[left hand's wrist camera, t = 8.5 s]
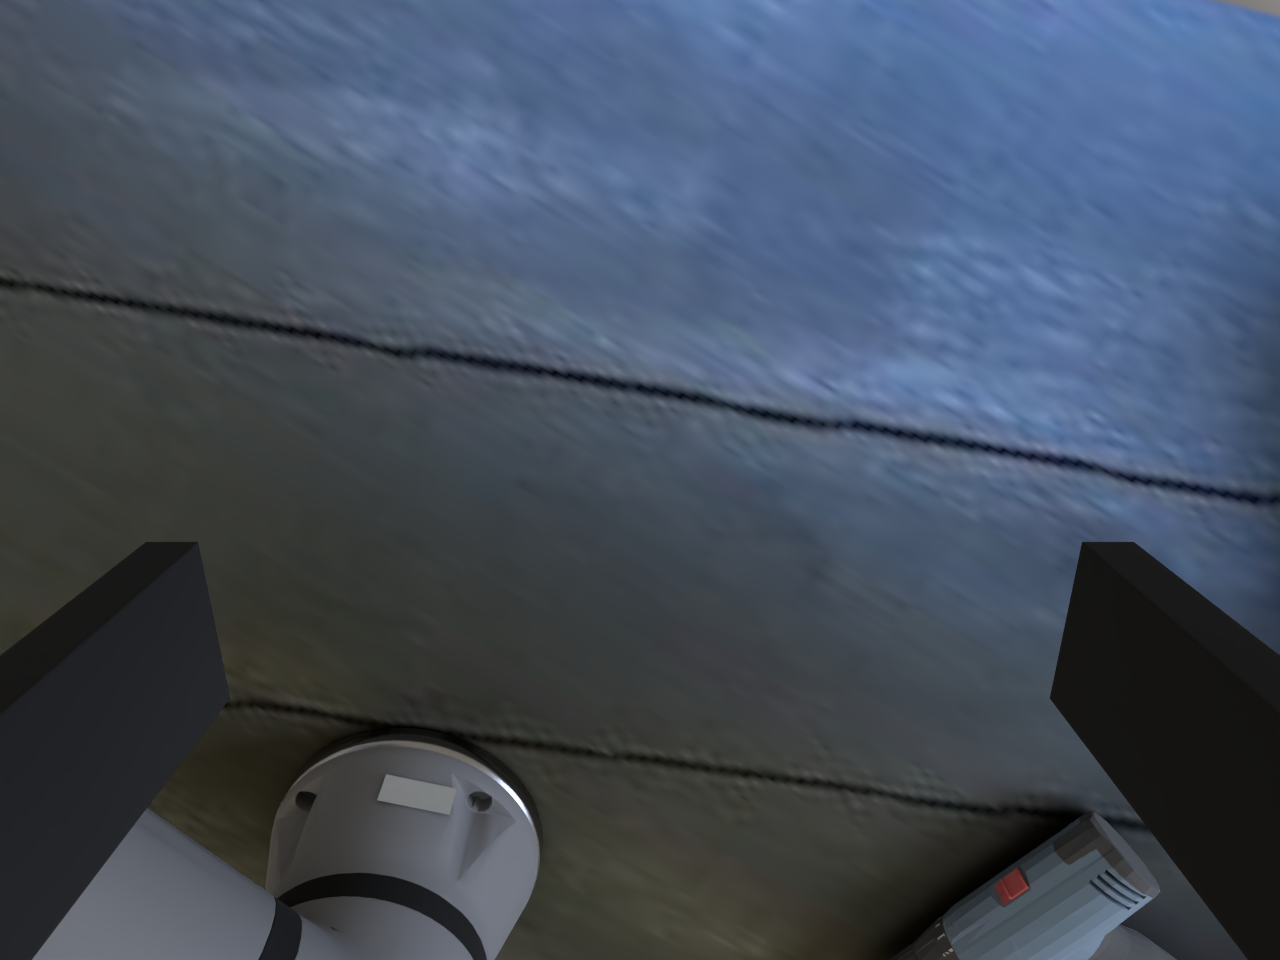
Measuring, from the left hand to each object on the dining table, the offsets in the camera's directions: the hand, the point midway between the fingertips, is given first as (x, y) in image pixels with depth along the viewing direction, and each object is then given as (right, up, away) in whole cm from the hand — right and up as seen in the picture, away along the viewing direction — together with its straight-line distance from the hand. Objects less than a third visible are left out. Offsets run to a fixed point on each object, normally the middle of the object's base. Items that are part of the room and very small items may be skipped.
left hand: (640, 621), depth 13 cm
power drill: (+26, -28, +41) cm, 56 cm away
